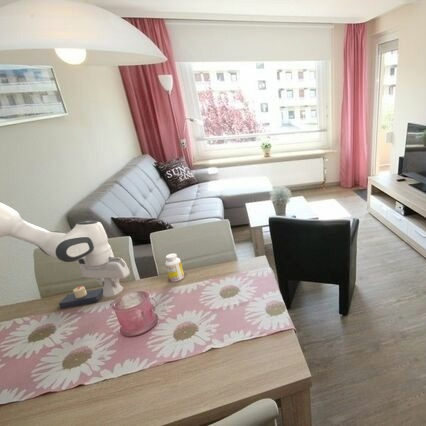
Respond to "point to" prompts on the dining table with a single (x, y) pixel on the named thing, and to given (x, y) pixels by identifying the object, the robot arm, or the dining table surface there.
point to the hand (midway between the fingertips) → (110, 285)
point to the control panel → (88, 298)
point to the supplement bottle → (174, 267)
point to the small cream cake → (79, 292)
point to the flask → (110, 287)
